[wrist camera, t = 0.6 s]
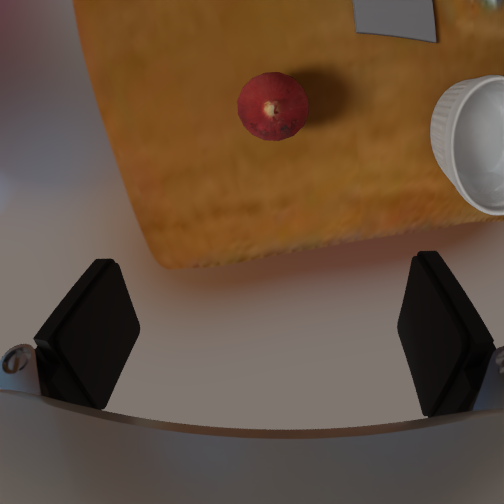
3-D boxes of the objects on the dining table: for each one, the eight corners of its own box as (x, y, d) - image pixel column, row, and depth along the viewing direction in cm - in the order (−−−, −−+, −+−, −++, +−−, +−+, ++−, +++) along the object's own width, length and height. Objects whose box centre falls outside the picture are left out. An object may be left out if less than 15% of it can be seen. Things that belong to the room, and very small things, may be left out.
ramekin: (512, 77, 22) (551, 84, 16) (511, 187, 29) (545, 211, 23) (413, 69, 24) (445, 70, 18) (420, 194, 31) (448, 222, 25)
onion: (314, 120, 28) (325, 134, 21) (258, 142, 30) (250, 163, 23) (290, 64, 26) (293, 59, 19) (232, 88, 27) (216, 91, 20)
